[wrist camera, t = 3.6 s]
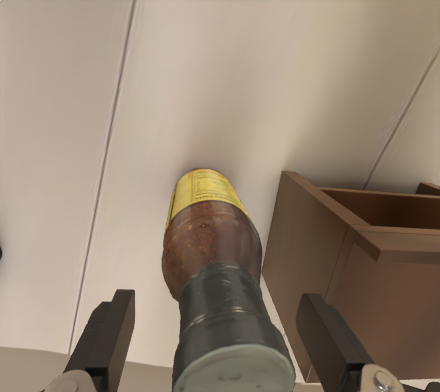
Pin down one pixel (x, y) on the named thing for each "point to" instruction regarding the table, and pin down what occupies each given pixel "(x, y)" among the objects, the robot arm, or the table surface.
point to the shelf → (361, 269)
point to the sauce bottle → (220, 293)
